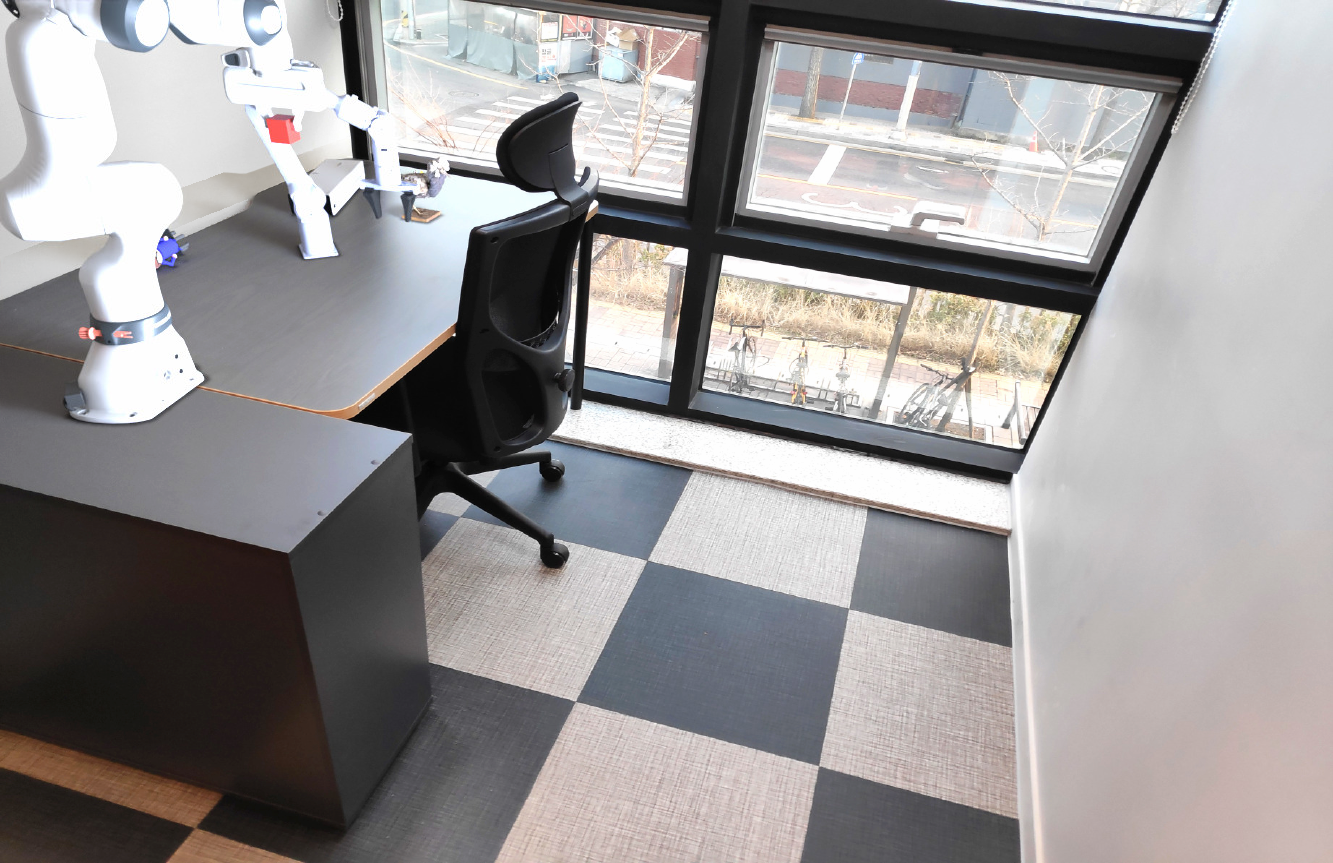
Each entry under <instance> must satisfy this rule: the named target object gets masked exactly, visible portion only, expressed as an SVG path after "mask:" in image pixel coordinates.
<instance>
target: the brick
mask: <svg viewBox="0 0 1333 863" xmlns="http://www.w3.org/2000/svg"><path fill="white" fill-rule="evenodd" d="M273 115H274V116H272V117H269V118H267V119H266V121H267V126H268V131H269V136H270V141H271V143H279V144H289V145H290V146H291V145H292V144H295V143H296V142H299V141H300V140H301V139H302V138H301V134H300V131H292V130H291V128H290V127H291V126H290V123H289V122H292V121H294V118H295V115H294V114H291V115H290V114H283V113H276V114H273Z"/></svg>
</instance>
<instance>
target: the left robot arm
mask: <svg viewBox="0 0 1333 863" xmlns="http://www.w3.org/2000/svg"><path fill="white" fill-rule="evenodd" d="M0 1H1V3H2V4H3V6H4V7H5V8H6V10H7V11H8V12H9V13H10V14H11V15H12V16H14V17H15V18H16V19H15V20H13V21H12V22H11V23H10V24H9V26H8V27H7V29H6V31H5V36H4V40H5V41H4V42H5V44H4V45H5V54H6V64H7V68H8V75H9V79H10V83H11V86H12V89H13V93H14V96H15V99H16V101H17V105H18V108H19V111H20V114H21V118H22V121H23V127H24V132H25V136H26V146H25V150H24V153H23V155H22V157H21V159H20V161H19V163H18V164H17V165H16V166H15V167H14V169H12V170H11V171H10V172H9V173H8V174H6V175H5V176H3V177H2V178H1V179H0V225H2V227H3V228H4V229H5V230H6V231H7V232H8V233H10V234H12V236H14V237H15V238H18V239H20V240H21V241H24V242H63V241H71V240H75V239H76V240H77V239H84V238H89V237H97V236H101V235H104V236H105V235H106V236H107V235H108V238H107V241H106V243H105V244H104V245H103V246H102V247H101V248H100V249H99V250H97V251H95V252H94V253H93V254H91V255H90V256H88V257H87V258H86V259H85V260H84V261H83V263H82V264H81V266H80V268H79V271H78V281H79V284H80V287H81V289H82V292H83V294H84V297H85V300H86V303H87V306H88V308H89V311H90V312H89V327H86V326H81V327H80V328H79V329H78V337H79V338H81V340H89V339H90V340H91V344H90V347H89V350H88V352H87V354H86V357H85V359H84V363H83V365H82V367H81V370H80V372H79V375H78V378H77V380H75V381H68V382H65V389H64V396H63V399H62V405H63V406H64V408H65V409H67V410H68V411H69V415H70V416H71V417H72V418H73V419H75V420H79V421H82V422H88V423H94V424H95V423H97V424H130V423H138V422H144V421H149V420H151V419H153V418H154V417H156V416H157V415H158V414H161V412H163V411H164V410H165V409H166V408H169V406H171V405H172V404H174V403H175V402H176V401H178V400H179V399H181V398H182V397H184V396H185V395H186V394H187V393H188V392H190V391H191V390H193V389H194V388H196V387H197V386H198V385H199V384H201V383H203V381H204V380H205V377H204V376H203V374H202V372H200V371H199V370H197V369H196V367H195V364H194V362H193V360H192V356H191V355H190V352H189V350H188V347H187V345H186V342H185V340H184V339H183V338H182V337H181V335H180V334H179V333H178V332H177V331H176V329H175V328H174V327H173V325H172V324H173V318H172V313H171V310H170V308H169V306H168V303H167V301H165V300H164V299H163V295H162V292H161V289H160V284H159V280H158V275H157V270H156V269H157V268H156V269H155V252H156V248H157V244H158V242H159V239H160V237H161V235H162V234H163V232H164V231H165V229H167V228H168V227H169V225H170V224H172V223H173V222H174V221H175V220H176V219H177V217H178V216H179V215H180V212H181V210H182V207H183V192H182V188H181V186H180V184H179V182H178V180H177V178H176V177H175V176H174V174H173V173H172V172H171V171H170V170H169V169H168V168H166V167H165V166H164V165H163V164H161V163H159V162H155V161H144V160H129V159H128V160H127V159H126V160H117V161H108V162H104V161H105V160H106V159H107V158H108V157H110V155H111V154H112V152H113V151H114V148H115V146H116V143H117V139H118V138H117V129H116V125H115V120H114V117H113V114H112V109H111V105H110V100H109V97H108V93H107V89H106V84H105V82H104V79H103V75H102V73H101V70H100V67H99V65H98V63H97V60H96V58H95V55H94V54H95V45H96V40H98V41H102V42H104V43H108V44H111V45H112V46H113V47H115V48H117V49H121V50H124V51H129V52H132V53H142V54H145V53H149V52H152V50H154V49H155V48H157V47H158V46H159V45H161V44H162V43H163V41H165V38H166V37H167V35H168V32H169V30H170V32H172V33H173V35H174V36H175V37H176V38H177V39H178V40H180V41H181V42H182V43H184V44H186V45H191V46H193V45H194V46H195V45H196V46H197V45H199V46H201V45H210V46H211V45H212V46H213V45H214V46H225V47H226V46H227V47H237V48H236V49H233V50H230V51H227V52H225V53H222V54H221V55H220V61H221V64H222V65H223V66H225V67H224V68H223V69H222V81H223V88H224V93H225V96H226V98H227V100H228V101H229V102H230V103H231V104H236V105H245V104H247V105H255V107H256V111H257V113H258V114H259V115H260V116H261V118H262V119H263V120H264V125H265V128H268V126H267V121H266V119H267V118H269V117H270V116H269V114H268V113H267V111H266V109H268V107H271V108H280V109H288V110H289V109H291V113H292V115H294V116H295V118H294V121H292V122H289V123H290V126H291V127H290V128H291V130H292V131H299V132H300V131H302V124H301V122H302V119H303V116H304V114H305V111H307V112H308V111H310V112H321V111H324V110H325V109H327V108H328V107H327V105H328V98H327V94H326V90H325V89H326V87H325V84H324V76H323V72H322V69H321V68H320V66H319V65H317V63H314V61H311V60H301V59H295V58H294V51H293V46H292V39H291V37H290V35H289V32H288V29H287V12H286V7H285V2H284V0H0Z"/></svg>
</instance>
